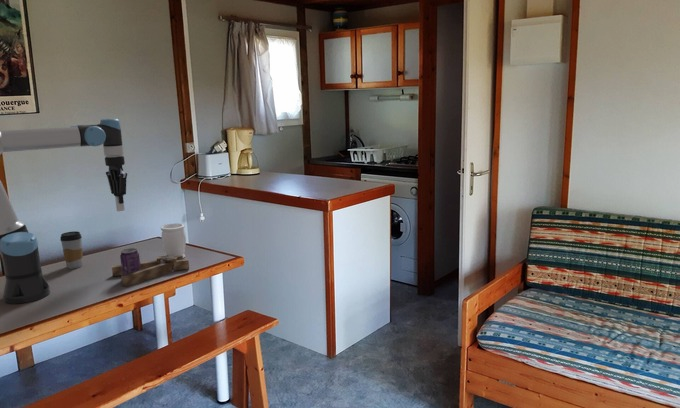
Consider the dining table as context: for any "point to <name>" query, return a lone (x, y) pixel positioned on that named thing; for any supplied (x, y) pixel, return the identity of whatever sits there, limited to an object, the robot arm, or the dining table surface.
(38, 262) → the robot arm
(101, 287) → the dining table surface
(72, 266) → the coffee cup
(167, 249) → the jar
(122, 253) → the beverage can
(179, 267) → the tong arm
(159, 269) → the tongs base
